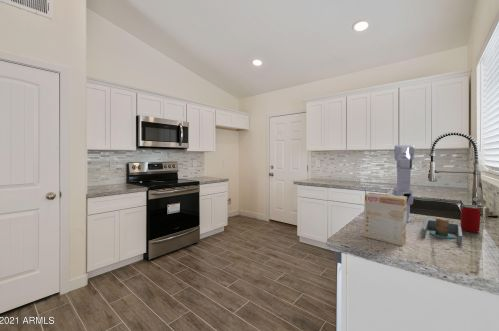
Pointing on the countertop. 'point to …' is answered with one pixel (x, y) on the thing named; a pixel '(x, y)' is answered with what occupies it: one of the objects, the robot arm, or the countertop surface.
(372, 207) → the coffeecake box
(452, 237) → the pad
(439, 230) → the walnut cylinder
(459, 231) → the grey angular frame piece
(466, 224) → the beverage can
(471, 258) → the countertop surface
